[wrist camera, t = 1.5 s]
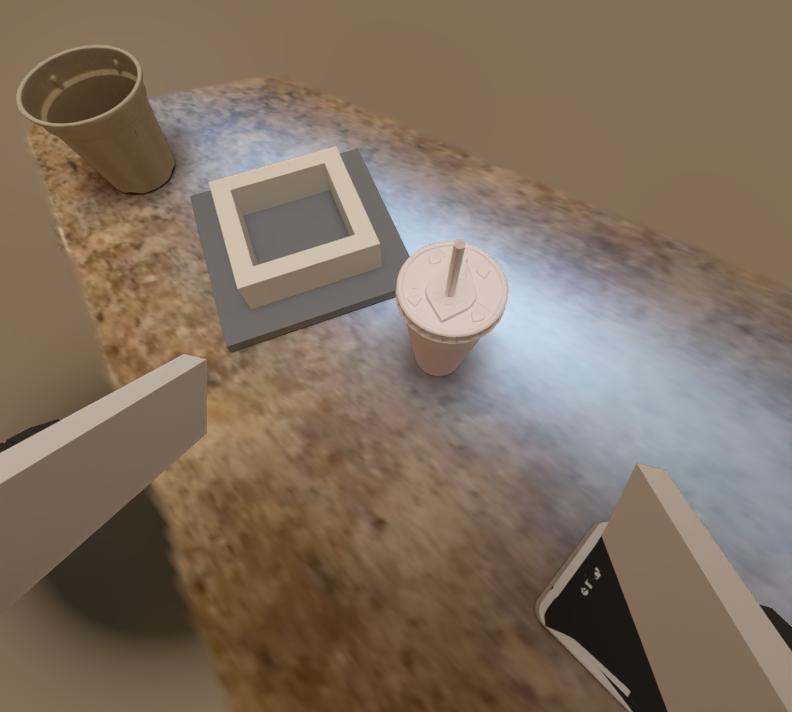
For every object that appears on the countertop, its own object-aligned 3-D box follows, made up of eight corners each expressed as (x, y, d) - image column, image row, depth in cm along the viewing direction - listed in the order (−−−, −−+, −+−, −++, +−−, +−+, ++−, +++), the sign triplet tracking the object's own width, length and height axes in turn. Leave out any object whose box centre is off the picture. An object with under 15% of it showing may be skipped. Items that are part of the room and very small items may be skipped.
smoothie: (386, 379, 31) (375, 272, 18) (410, 308, 34) (416, 170, 21) (468, 403, 30) (517, 310, 18) (488, 329, 33) (543, 199, 20)
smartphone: (777, 861, 20) (532, 613, 25) (755, 842, 22) (526, 609, 26) (841, 722, 22) (605, 515, 27) (818, 712, 24) (596, 515, 28)
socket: (420, 288, 34) (423, 258, 31) (231, 352, 32) (209, 329, 29) (358, 157, 40) (354, 119, 37) (195, 204, 38) (173, 169, 35)
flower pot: (151, 222, 38) (84, 139, 30) (72, 190, 39) (-12, 103, 31) (211, 154, 41) (165, 62, 33) (135, 126, 42) (74, 33, 34)
